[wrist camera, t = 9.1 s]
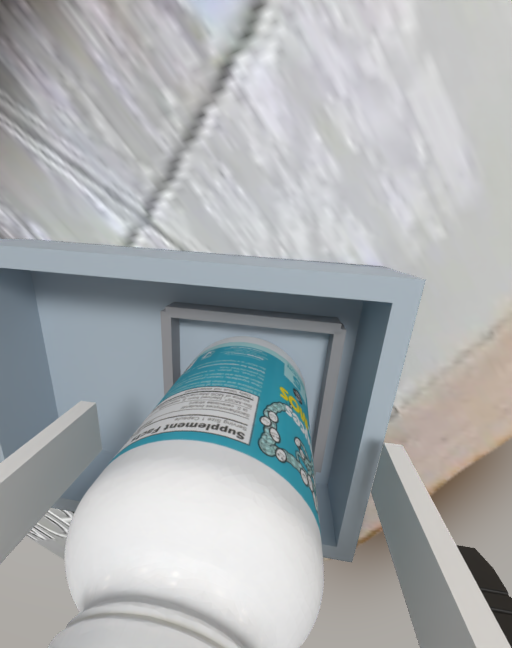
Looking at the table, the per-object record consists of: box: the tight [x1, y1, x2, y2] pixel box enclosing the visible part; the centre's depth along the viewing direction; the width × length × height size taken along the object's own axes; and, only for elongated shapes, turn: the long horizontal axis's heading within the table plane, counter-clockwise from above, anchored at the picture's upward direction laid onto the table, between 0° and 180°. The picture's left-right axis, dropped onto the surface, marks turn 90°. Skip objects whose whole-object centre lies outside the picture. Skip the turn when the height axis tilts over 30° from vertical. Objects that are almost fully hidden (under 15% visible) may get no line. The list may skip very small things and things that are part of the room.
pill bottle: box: [48, 336, 324, 648], centre depth 11 cm, size 8×7×14 cm
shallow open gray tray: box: [0, 239, 426, 562], centre depth 16 cm, size 22×16×5 cm
